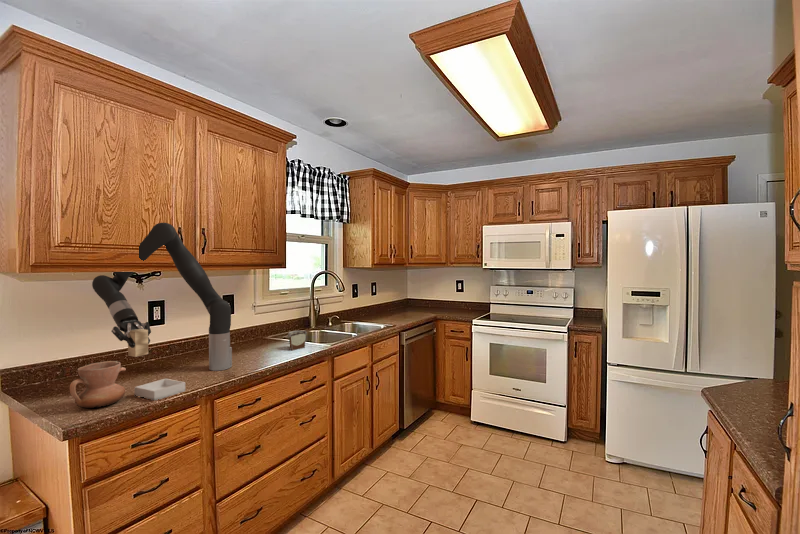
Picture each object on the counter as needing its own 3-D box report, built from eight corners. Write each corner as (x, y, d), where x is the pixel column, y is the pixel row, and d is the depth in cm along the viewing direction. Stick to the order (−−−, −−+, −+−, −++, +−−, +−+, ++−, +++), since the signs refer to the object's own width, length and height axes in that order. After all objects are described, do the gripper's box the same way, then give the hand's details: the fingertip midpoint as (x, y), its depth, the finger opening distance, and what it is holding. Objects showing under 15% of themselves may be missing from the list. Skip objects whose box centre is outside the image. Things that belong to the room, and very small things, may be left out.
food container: (300, 346, 237) (299, 329, 237) (306, 347, 233) (306, 330, 233) (283, 349, 227) (283, 332, 227) (290, 351, 223) (289, 333, 223)
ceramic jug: (114, 393, 152) (112, 357, 151) (138, 398, 146) (136, 360, 145) (58, 411, 135) (56, 370, 135) (82, 417, 129) (80, 374, 129)
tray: (165, 386, 160) (165, 378, 160) (185, 391, 155) (185, 382, 155) (134, 396, 149) (134, 387, 149) (154, 400, 144) (154, 391, 144)
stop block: (141, 352, 161) (140, 328, 161) (148, 354, 159) (148, 329, 159) (128, 355, 157) (127, 330, 157) (135, 356, 155) (135, 331, 154)
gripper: (107, 309, 154) (125, 342, 149) (144, 305, 167) (162, 335, 162) (100, 322, 157) (118, 355, 152) (137, 317, 170) (155, 347, 165)
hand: (141, 344), depth 157 cm, fingers closed on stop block, 5 cm apart
